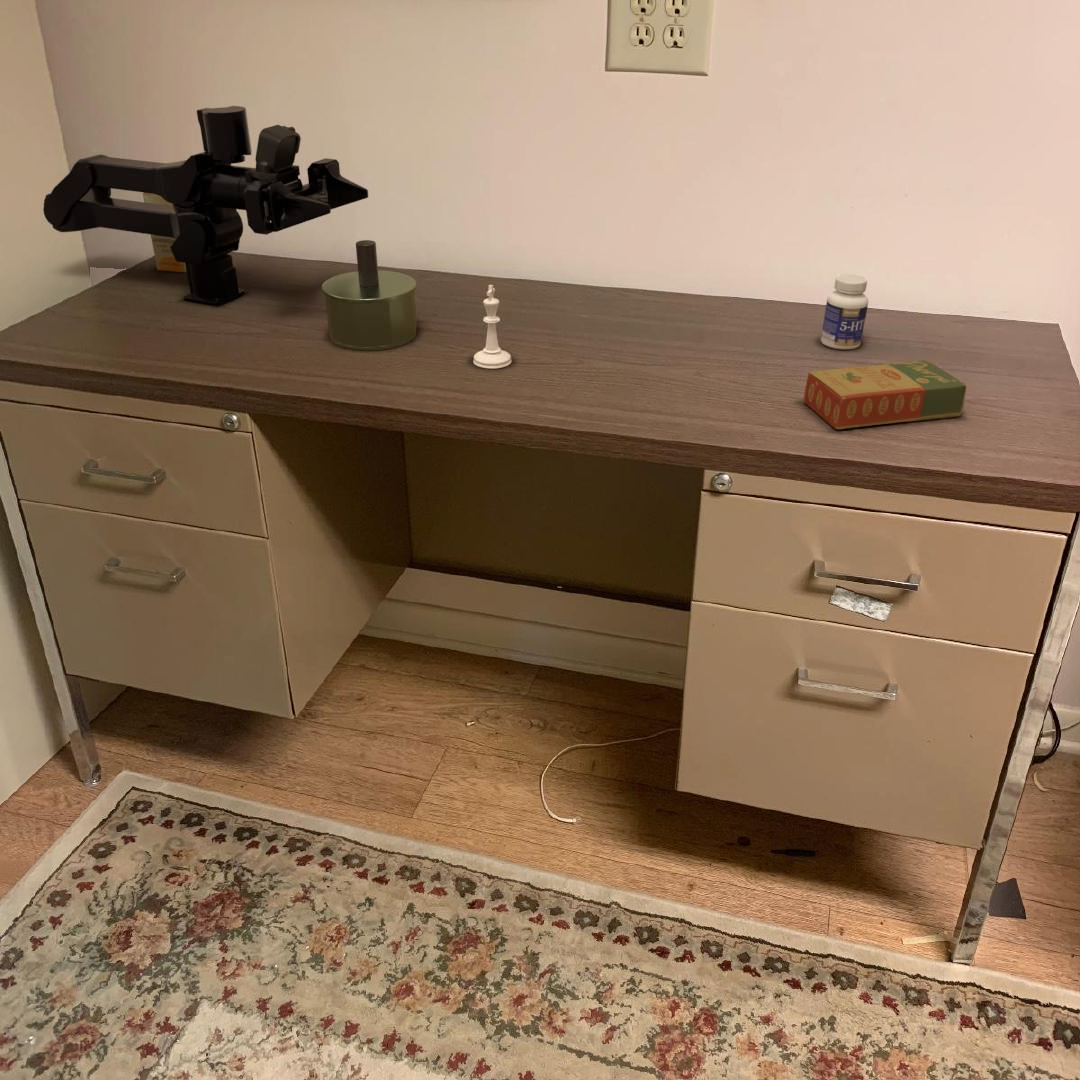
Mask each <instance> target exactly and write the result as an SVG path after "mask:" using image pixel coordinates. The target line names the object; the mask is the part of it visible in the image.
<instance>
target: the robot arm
mask: <svg viewBox="0 0 1080 1080" xmlns="http://www.w3.org/2000/svg"><path fill="white" fill-rule="evenodd" d="M196 116H197V122H198V124H199V128H200V134H201V141H202V147H203V152H199V153H196V154H192V155H190V156H189V157H188V158H187V159H185V160H184V159H183V160H179V161H174V162H156V161H147V160H139V159H129V158H121V157H114V156H113V157H112V156H107V155H105V154H95V155H91V156H88V157H83V158H80V159H78V160H77V161H76V162H75V163H74V164H73V165H72V168H71V169H70V171H69V172H68V173H67V174H66V175H65V177H63V179H61V181H59V182H58V183H57V184H56V185H55V186H54V188H53V189H52V190H51V192H50V193H47V194H45V195H44V199H43V208H42V210H43V215H44V218H45V219H46V221H47V222H48V223H49V224H50V225H51V226H52V229H54V230H55V231H57V232H59V233H73V232H81V231H86V230H93V229H97V228H101V229H103V228H104V229H110V230H117V231H124V232H131V233H139V234H145V235H150V236H151V235H158V236H164V237H171V238H175V239H176V240H175V241H174V243H173V244H172V245H171V251H172V253H173V255H174V258H175V260H176V261H177V262H183V263H185V266H186V271H187V272H186V276H187V282H188V287H189V293H187V294H186V295H183V301H188V302H189V301H190V302H195V303H201V304H207V305H212V306H220V305H223V304H225V303H226V302H229V301H230V300H233V299H235V298H237V297H240V296H241V295H244V294H245V289H242V288H239V282H238V276H237V270H236V269H237V268H236V266H234V262H233V255H232V254H230V253H232V252H237V251H238V250H239V247H240V241H241V238H242V236H243V233H244V223H243V219H242V217H241V215H240V213H239V212H238V210H239V211H240V210H241V211H245V213H246V220H247V226H248V227H249V228H250V229H251V231H252V232H253V233H254V234H258V235H265V236H267V235H270V234H273V233H277V232H280V231H283V230H287V229H289V228H291V227H294V226H295V227H296V226H298V225H300V224H303V223H305V222H309V221H311V220H315V219H317V218H320V217H324V216H326V215H329V214H331V212H332V210H334V209H337V208H340V207H344V206H347V205H350V204H353V203H356V202H359V201H362V200H365V199H368V198H369V190H368V189H367V188H366V187H364V186H362V185H359V184H358V183H356V182H353V181H351V180H349V179H347V178H345V177H344V176H342V175H341V168H340V162H339V161H338V159H335V158H328V157H327V158H326V157H325V158H322V159H319V160H316V161H313V162H311V163H310V165H309V166H308V168H307V169H306V170H307V171H306V172H307V181H308V183H305V184H303V182H302V179H301V178H299V176H300V175H301V172H300V165H296V164H294V163H295V159H296V154H298V153H299V150H300V146H301V140H302V137H301V135H300V133H298V132H297V131H296V129H295V127H294V126H286V125H280V124H275V125H272V126H268V127H264V128H262V129H261V130H260V132H259V134H258V139H257V146H256V150H255V151H256V152H255V167H250V166H242V165H241V166H239V165H234V164H241V163H244V162H246V156H252V153H253V150H252V144H251V143H252V142H251V137H250V130H249V129H250V128H249V122H248V115H247V109H246V107H244V106H240V105H230V106H226V107H225V106H223V107H213V108H212V107H204V108H201V109H197V110H196ZM113 189H114V190H120V191H129V192H137V193H152V194H156V195H159V196H161V197H162V198H163V199H164V200H165V201H166V202H169V203H172V204H173V206H168V205H160V204H153V203H145V202H144V201H136V200H130V199H120V198H113V197H111V196H112V190H113Z"/></svg>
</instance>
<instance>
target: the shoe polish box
mask: <svg viewBox="0 0 1080 1080" xmlns="http://www.w3.org/2000/svg"><path fill="white" fill-rule="evenodd" d="M142 197H143V202H145V203H153V204H160V205H168V206H173V204H172V203H169V202H166V201H165V200H164V199H163V198H162V197H161V196H159V195H156V194H152V193H144V192H142ZM150 239H151V243H152V248H153V254H154V257H155V258H154V259H155V264H156V269H157V271H164V272H177V273H187V271H186V266H185V263H183V262H177V261H176V260H175V258H174V255H173V253H172V251H171V245H172V244H173V243H174V241H175V240H176V239H175V238H171V237H164V236H158V235H151V234H150Z"/></svg>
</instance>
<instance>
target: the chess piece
mask: <svg viewBox="0 0 1080 1080" xmlns="http://www.w3.org/2000/svg"><path fill="white" fill-rule="evenodd" d="M494 293H496V288H494V285H493V284H488V291H486V296H487V298H485V299H484V300H483V302H482V304H483V306H484V309H485V313H486V316H484V317H483V319H482V320H483V322H484V323H485V324H487V330H486V331H487V332H486V341H485V347H483V349H482V350H480V351H479V350H478V351H477V352H476V353H475V354H474V355H473V359H472V361H473V364H474V365H475V366H476V367H479V368H482V369H489V370H491V369H492V370H494V369H495V370H496V369H502V368H506V367H508V366H509V365H511V364H512V363H513V362H512V355H511V353H509V352H508V351H506V350H503V349H502V348H501V347H500V346H499V341H498V334H497V326H496V324H497V323H499V322H500V321H501V319H500V317H499V316H498V315H496V314H497V313H498V312H497V311H498V308H499V305H500V300H499V299H498V298H496V297H494Z"/></svg>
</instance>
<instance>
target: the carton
mask: <svg viewBox="0 0 1080 1080" xmlns="http://www.w3.org/2000/svg"><path fill="white" fill-rule="evenodd" d="M966 394H967V383H965V382H963V381H961V380H960V379H958V378H956V377H955V376H953V375H951V374H950V373H948V372H947V371H945V370H943V369H942V368H940V367H939V366H937V365H936V364H934V363H932V362H931V361H929V360H926V359H925V360H916V361H907V362H905V361H904V362H893V363H887V364H875V365H865V366H857V367H855V366H854V367H845V368H833V369H824V370H816V371H809V372H808V373H807V378H806V382H805V388H804V394H803V400H802V401H803V403H805V404H806V405H807V406H808V407H809V408H810V409H811V410H813V411H814V413H816V414H817V415H818V416H820V417H821V418H822V419H823V420H824V421H825V422H827V423H828V424H829V425H830V426H831V427H832V428H834V429H835V430H843V429H851V428H860V427H869V426H877V425H886V424H897V423H907V422H918V421H929V420H940V419H941V420H942V419H953V418H959V417H960V416H961V415H962V414H963V409H964V406H965V399H966Z"/></svg>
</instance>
